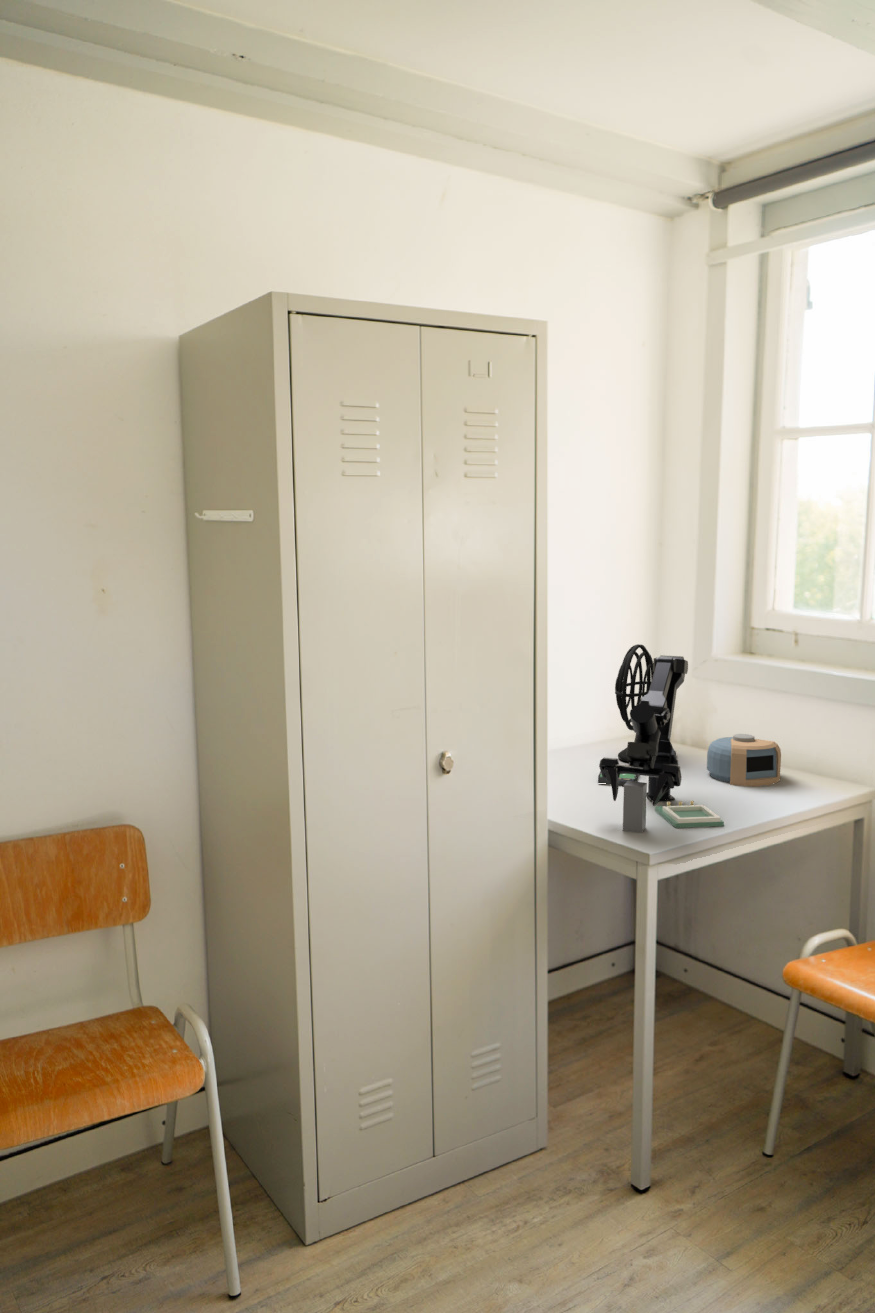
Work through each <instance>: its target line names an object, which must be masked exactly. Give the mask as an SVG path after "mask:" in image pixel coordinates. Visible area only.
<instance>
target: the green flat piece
mask: <svg viewBox="0 0 875 1313" xmlns="http://www.w3.org/2000/svg"><path fill="white" fill-rule="evenodd" d="M689 802H690V804H689V805H683V801H678V805H671V801H667V802H666V806H665V805H664V806H663V805H661V806H659V805H658V806H654V811H655V812H656V813H657V814H659V816H660V817H662V818H663V819H664V820H666V821H667V822H668V823H669V824H670V825H671V826H673V827H674V828H675V829H676V828H699V827H701V828H703V827H704V828H705V827H724V825H725V822H724V821H723V820H722V819H721V816H719V815H718V814H716V813H715V812H714V811H713V810H711V809H710V808H708V807H707V806H705V805H704V804H695V803H694V801H693V800H690V801H689ZM694 804H695V805H694Z"/></svg>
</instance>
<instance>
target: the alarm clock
mask: <svg viewBox="0 0 875 1313" xmlns="http://www.w3.org/2000/svg"><path fill="white" fill-rule="evenodd" d="M781 750H782V749H781V748H780V746H779V744H778V743H776V742H775V741H774V740H765V739H758V738H755V735H752V734H747V733H736V734H733V736H730V737H729V736H728V737H721V738H716V740H713V741H712V742H711V743H710V744H709V746H708V750H707V754H706V756H707V757H706V770H707V771H708V772H709V773H710V777H711V778H713V779H715V780H717V779H718V781H721V782H724V781H725V783H729V785H730V786H731V785H732V786H742V787H762V786H761V785H767V786H772V785H771V784H773V783H776V784H778V783H777V782H778V781H780V780H781V766H782V765H781V763H782V752H781ZM779 779H780V780H779ZM773 785H774V784H773Z"/></svg>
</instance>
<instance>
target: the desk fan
mask: <svg viewBox="0 0 875 1313" xmlns="http://www.w3.org/2000/svg"><path fill="white" fill-rule="evenodd" d="M638 649H640V650H641V651H642V652H640V654H639V653H638V652H637V650H638ZM634 656H635V658H636V662H635V664H634V668H632V666H631V663H632V660H633V658H634ZM643 657H644V661H645V668H646V669H645V672H644V674H643V664H642V659H643ZM653 661H654V659H653V658H652V656H651V654H650V652H649V651H648V649H647V648H646V646H644V645H643V644H635V645H632V646H631V647H630V648H629V649H628V651H627V652H626V654H625V655H624V657H623V660H622V662H621V665H620V667H619V670H618V673H617V677H616V680H615V685H614V693H615V698H616V699H615V700H616V705H617V708H618V709H619V713H620V717H621V719H622V721H623V722H624V723H625V726H626V728H627V729H628V730H629V731H633V732H634V729H633V725H632V721H631V717H630V718H629V715H628V708H629V705H631V709H632V708H633V707H634V706H636V705H638V704H639V703H640V701H641V698H642V697H644V696H645V695H647V694H648V692H649V688H650V685H651V681H652V678H653V674H654V671H653ZM637 674H638V675H639V677H638V678H639V679H638V680H639V681H636V680H637ZM643 675H644V676H643ZM629 676H630V677H629ZM629 678H630V682H628V679H629ZM636 685H637V686H638V693H636ZM627 687H630V688H629V693H627ZM627 698H628V699H627ZM635 698H636V699H637V701H635ZM674 751H675V755H676V756H677V751H676V750H675V749H674ZM626 753H627V747H626V748H624V749H622V750H621V751H619V752H618V754H617V757H618V758H617V759H619V760H620V761H624V762H626V763H629V762H628V761H627V758H628V756H627V755H626Z"/></svg>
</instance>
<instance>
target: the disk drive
mask: <svg viewBox="0 0 875 1313" xmlns="http://www.w3.org/2000/svg"><path fill="white" fill-rule="evenodd" d="M638 776H639V775H635V774H626V773H620V776H619V785H624V784H625V783H626V782H627V781H634V782H637V780H638ZM598 783H606V784H611V782H609V781H607V779H606V778H603V777H602V774H601V770H600V771H599V774H598V777H597V784H598Z"/></svg>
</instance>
